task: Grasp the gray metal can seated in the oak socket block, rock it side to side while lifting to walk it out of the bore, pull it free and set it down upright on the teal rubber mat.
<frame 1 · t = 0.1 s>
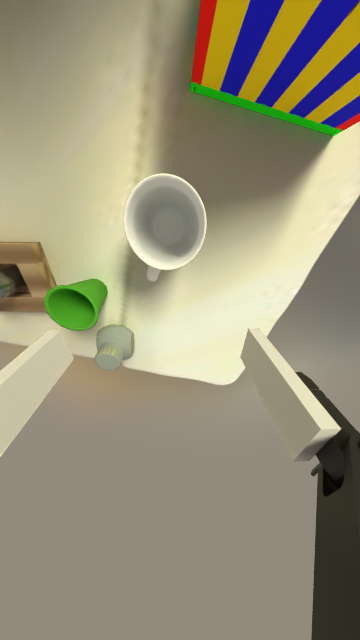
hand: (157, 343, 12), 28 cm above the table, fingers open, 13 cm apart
cup: (97, 288, 38), on the table
toy house: (286, 42, 22), on the table
mug: (166, 232, 33), on the table
socket block: (21, 276, 36), on the table
air freshener: (120, 336, 46), on the table
gray metal can: (19, 277, 36), resting on socket block
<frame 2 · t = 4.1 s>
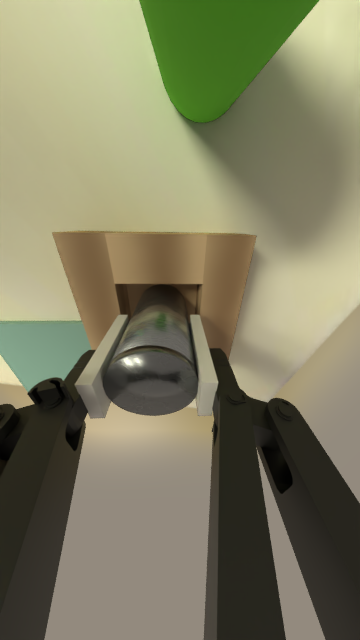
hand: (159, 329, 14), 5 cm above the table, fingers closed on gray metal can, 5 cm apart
cup: (202, 64, 10), on the table
socket block: (163, 305, 18), on the table
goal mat: (58, 360, 21), on the table
gray metal can: (162, 307, 17), resting on socket block, touching gripper
when the fingers open (7 cm above the table, at t = 10.5 s): gray metal can drops 2 cm, resting on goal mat.
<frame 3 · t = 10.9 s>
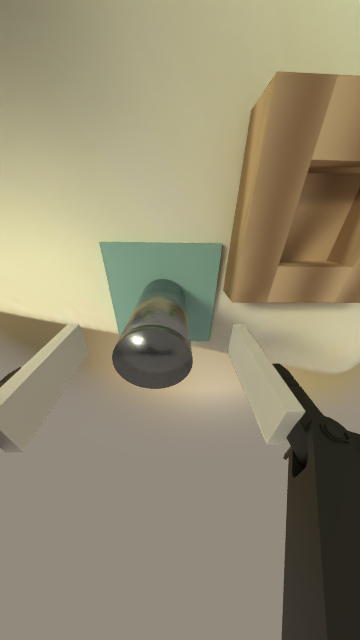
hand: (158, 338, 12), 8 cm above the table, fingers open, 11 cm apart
socket block: (304, 222, 16), on the table
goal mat: (164, 297, 19), on the table
gray metal can: (163, 300, 19), point 1 cm above the table, touching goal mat
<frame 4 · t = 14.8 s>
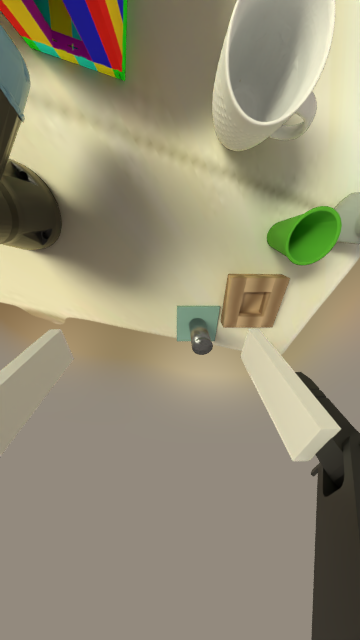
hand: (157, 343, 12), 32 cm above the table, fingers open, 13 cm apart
cup: (277, 234, 37), on the table
mug: (241, 124, 28), on the table
socket block: (248, 299, 45), on the table
air freshener: (342, 220, 36), on the table
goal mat: (196, 323, 49), on the table
gray metal can: (197, 325, 48), point 1 cm above the table, touching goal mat
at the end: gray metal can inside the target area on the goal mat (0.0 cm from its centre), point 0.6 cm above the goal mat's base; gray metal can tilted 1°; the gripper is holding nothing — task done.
